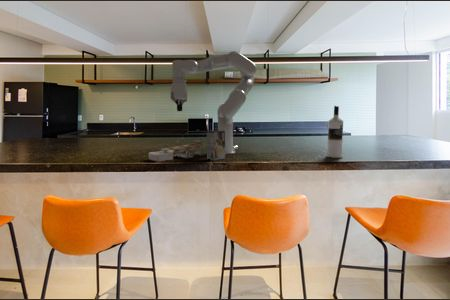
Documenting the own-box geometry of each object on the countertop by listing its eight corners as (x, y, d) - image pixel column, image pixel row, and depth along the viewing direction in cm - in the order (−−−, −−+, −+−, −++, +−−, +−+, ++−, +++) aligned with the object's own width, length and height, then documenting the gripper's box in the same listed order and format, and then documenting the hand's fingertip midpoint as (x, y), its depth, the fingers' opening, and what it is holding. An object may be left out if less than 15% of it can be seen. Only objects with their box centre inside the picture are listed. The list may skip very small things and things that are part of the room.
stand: (190, 152, 200) (189, 146, 200) (205, 155, 188) (205, 149, 188) (162, 156, 187) (161, 149, 186) (177, 159, 174) (177, 152, 174)
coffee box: (217, 157, 181) (217, 130, 179) (225, 158, 177) (225, 130, 175) (206, 159, 174) (206, 131, 172) (214, 160, 170) (214, 131, 168)
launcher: (188, 145, 200) (188, 139, 199) (202, 147, 189) (201, 141, 188) (160, 150, 186) (159, 144, 185) (173, 153, 175) (172, 146, 175)
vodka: (332, 155, 187) (334, 105, 183) (345, 157, 180) (348, 105, 175) (322, 156, 182) (324, 105, 178) (335, 158, 175) (338, 105, 170)
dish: (163, 157, 181) (163, 150, 181) (173, 159, 174) (173, 152, 173) (148, 159, 175) (148, 152, 174) (157, 161, 167) (157, 154, 167)
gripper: (185, 82, 197) (186, 111, 199) (165, 80, 187) (166, 111, 189) (192, 81, 191) (192, 111, 194) (171, 80, 181) (172, 111, 184)
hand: (179, 111), depth 191 cm, fingers closed
